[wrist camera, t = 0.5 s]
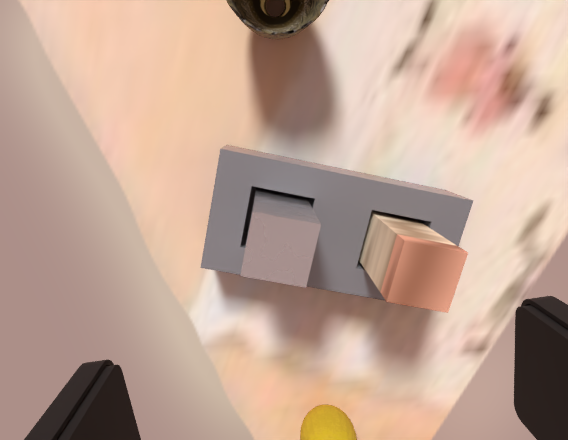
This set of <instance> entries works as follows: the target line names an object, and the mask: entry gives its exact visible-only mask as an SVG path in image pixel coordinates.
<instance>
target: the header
mask: <svg viewBox="0 0 568 440" xmlns="http://www.w3.org/2000/svg"><path fill="white" fill-rule="evenodd" d="M256 187H259V188H264V189H269V190H274V191H279V192H284V193H289V194H294V195H299V196H304V197H307V199H308V201H309V203H310V205H311V207H312V209H313V210H314V212H315V214H316V216H317V218H318V220H319V222H320V224H321V227H320V231H319V235H318V240H317V244H316V248H315V252H314V256H313V261H312V265H311V269H310V273H309V277H308V282H307V287H313V288H318V289H324V290H330V291H336V292H341V293H347V294H353V295H358V296H364V297H370V298H375V299H381V300H385V299H384V297H383V296H382V294H381V293H380V291H379V290H378V288H377V287H376V285H375V284H374V282H373V281H372V279H371V278H370V276H369V275H368V273H367V272H366V270H365V269H364V267H363V266H362V264H361V263H360V261H359V256H360V252H361V249H362V245H363V241H364V238H365V234H366V230H367V226H368V223H369V219H370V215H371V211H372V210H375V211H380V212H385V213H390V214H395V215H400V216H405V217H410V218H415V219H417V220H418V221H420V222H421V223H423V224H424V225H426V226H427V227H429V228H430V229H432V230H434V231H435V232H437V233H438V234H440V235H441V236H443V237H444V238H446V239H447V240H449V241H450V242H452V243H454V244H455V245H457V246H459V243H460V239H461V236H462V233H463V230H464V227H465V224H466V221H467V218H468V215H469V212H470V209H471V206H472V203H473V200H470V199H468V198H465V197H462V196H460V195H457V194H454V193H452V192H449V191H447V190H442V189H437V188H432V187H428V186H423V185H418V184H413V183H408V182H403V181H399V180H394V179H389V178H384V177H379V176H374V175H370V174H365V173H360V172H355V171H350V170H345V169H341V168H336V167H331V166H326V165H321V164H316V163H312V162H307V161H302V160H297V159H292V158H287V157H283V156H278V155H273V154H268V153H263V152H258V151H254V150H249V149H244V148H239V147H234V146H229V145H226V146H224V147H223V148H221V149H220V155H219V161H218V167H217V173H216V179H215V185H214V191H213V197H212V203H211V209H210V215H209V221H208V227H207V233H206V239H205V245H204V251H203V257H202V263H201V268H205V269H211V270H216V271H222V272H228V273H233V274H239V275H241V269H242V263H243V257H244V251H245V245H246V239H247V233H248V227H249V222H250V217H251V212H252V207H253V202H254V196H255V191H256Z"/></svg>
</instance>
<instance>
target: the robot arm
mask: <svg viewBox="0 0 568 440" xmlns="http://www.w3.org/2000/svg"><path fill="white" fill-rule="evenodd" d="M514 373H515V374H514V406H515V410H516V413H517V415H518V417H519V419H520V420H521V422H522V423H523V424H524V425H525V426H526V427H527V429H528V430H529V431H530V432H531V433H532V434H533V436H534V437H535V438H536V439H537V440H568V305H567V304H565V303H564V302H562V301H560V300H559V299H557V298H555V297H553V296H546V297H539V298H532V299H526V300H524V301H523V303H522V305H521V307H518V308H517V310H516V319H515V372H514ZM24 440H141V438H140V435H139V431H138V427H137V424H136V420H135V416H134V413H133V409H132V406H131V402H130V398H129V394H128V391H127V388H126V384H125V380H124V376H123V373H122V370H121V368H120V366H119V365H114V364H113V363H112V361H110V360H102V361H95V362H88V363H84V364H82V365H81V366H80V367H79V368H78V370H77V371H76V372H75V373H74V375H73V376H72V377H71V379H70V380H69V382H68V383H67V384H66V385H65V387H64V388H63V389H62V391H61V392H60V393H59V394H58V396H57V397H56V399H55V400H54V401H53V403H52V404H51V405H50V406H49V408H48V409H47V410H46V412H45V413H44V414H43V416H42V417H41V418H40V419H39V421H38V422H37V423H36V425H35V426H34V427H33V429H32V430H31V431H30V433H29V434H28V435H27V437H26V438H25V439H24Z"/></svg>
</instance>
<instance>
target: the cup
mask: <svg viewBox="0 0 568 440" xmlns="http://www.w3.org/2000/svg"><path fill="white" fill-rule="evenodd" d="M266 1H267V0H227V3H228V4H229V6H230V7H231V9H232V10H233V11H234V12H235V14H236V15H237V16H238V17H239V18H240V20H241V21H242V22H243V23H244V24H245V25H246V26H247V27H248V28H249V29H251V30H252V31H253V32H255V33H257V34H258V35H260V36H263V37H266V38H271V39H283V38H288V37H291V36H293V35H295V34H297V33H299V32H301V31H302V30H303V29H305V28H306V27H307V26H308V25H309V24H311V23H312V22H314V21H315V20H316V19H317V18H318V17H319V16H320V14H321V13H322V12H323V10H324V8H325V7H326V4H327V2H328V1H329V0H284V3H285V10H284V12H283V13H282V14H281V15H280V16H278V17H273V16H271V15H269V14H268V13H267V11H266V8H265V4H266Z"/></svg>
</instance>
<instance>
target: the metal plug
mask: <svg viewBox="0 0 568 440" xmlns="http://www.w3.org/2000/svg"><path fill="white" fill-rule="evenodd" d="M320 227H321V224H320V222H319V220H318V218H317V216H316V214H315V212H314V210H313V209H312V207H311V205H310V203H309V201H308V199H307V197H304V196H299V195H294V194H289V193H284V192H279V191H274V190H269V189H264V188H259V187H256V191H255V196H254V202H253V207H252V212H251V217H250V222H249V227H248V233H247V239H246V245H245V251H244V257H243V263H242V269H241V275H240V276H242V277H248V278H254V279H259V280H265V281H271V282H276V283H282V284H288V285H293V286H299V287H305V288H306V286H307V282H308V277H309V273H310V269H311V265H312V261H313V256H314V252H315V248H316V244H317V240H318V235H319V231H320Z"/></svg>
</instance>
